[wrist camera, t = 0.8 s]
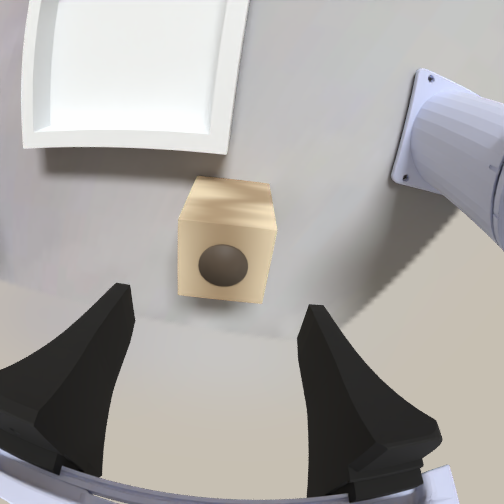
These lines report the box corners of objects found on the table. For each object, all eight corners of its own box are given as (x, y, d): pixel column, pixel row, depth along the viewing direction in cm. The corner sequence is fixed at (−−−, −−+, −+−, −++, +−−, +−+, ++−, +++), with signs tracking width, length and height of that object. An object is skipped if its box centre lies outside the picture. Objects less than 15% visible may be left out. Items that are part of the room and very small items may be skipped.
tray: (259, -54, 11) (261, -70, 9) (229, 143, 18) (226, 154, 16) (59, -36, 10) (39, -43, 7) (44, 138, 17) (23, 148, 14)
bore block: (269, 183, 19) (277, 231, 14) (258, 244, 22) (262, 305, 16) (197, 175, 19) (177, 221, 14) (193, 237, 21) (177, 296, 16)
